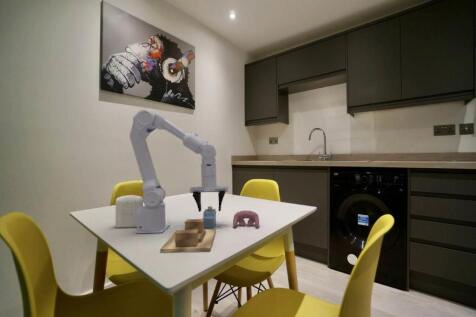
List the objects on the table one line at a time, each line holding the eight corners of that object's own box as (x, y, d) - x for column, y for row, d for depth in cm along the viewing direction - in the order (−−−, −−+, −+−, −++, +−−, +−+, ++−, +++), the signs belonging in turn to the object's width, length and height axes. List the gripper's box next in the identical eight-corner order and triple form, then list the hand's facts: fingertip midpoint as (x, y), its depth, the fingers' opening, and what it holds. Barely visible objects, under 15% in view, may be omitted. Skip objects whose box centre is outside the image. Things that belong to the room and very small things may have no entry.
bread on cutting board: (160, 252, 61) (159, 234, 61) (176, 232, 77) (176, 218, 77) (210, 251, 61) (209, 233, 61) (215, 232, 77) (215, 217, 77)
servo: (202, 230, 79) (202, 210, 79) (206, 222, 89) (206, 205, 89) (213, 230, 79) (213, 210, 79) (216, 222, 89) (216, 204, 89)
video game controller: (259, 229, 82) (258, 211, 86) (259, 228, 78) (258, 208, 82) (233, 229, 83) (234, 211, 87) (232, 227, 79) (232, 208, 83)
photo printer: (145, 224, 88) (144, 193, 88) (141, 227, 84) (140, 195, 84) (119, 225, 87) (118, 194, 87) (113, 228, 83) (113, 196, 83)
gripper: (187, 177, 80) (188, 214, 80) (227, 176, 80) (228, 212, 80) (191, 175, 87) (192, 209, 87) (227, 174, 87) (228, 208, 87)
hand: (209, 210), depth 84 cm, fingers open, 7 cm apart
